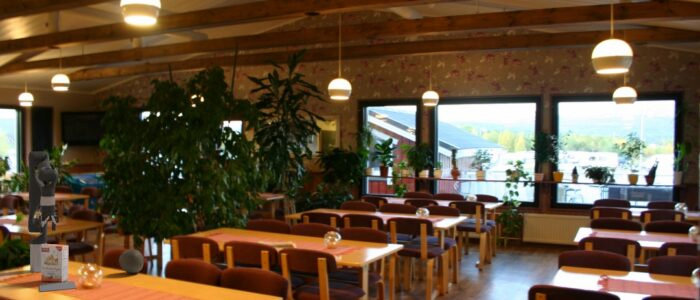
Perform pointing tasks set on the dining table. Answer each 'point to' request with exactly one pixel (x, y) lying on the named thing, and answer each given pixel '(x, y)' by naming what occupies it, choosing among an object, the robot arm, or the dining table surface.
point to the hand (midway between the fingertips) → (47, 231)
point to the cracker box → (54, 263)
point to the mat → (57, 286)
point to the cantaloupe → (131, 261)
